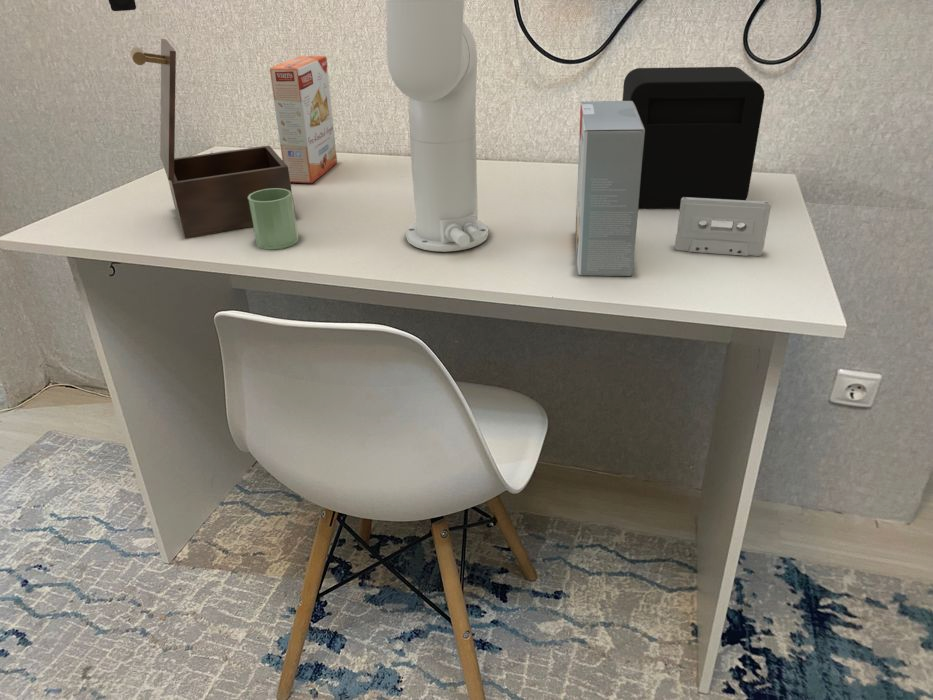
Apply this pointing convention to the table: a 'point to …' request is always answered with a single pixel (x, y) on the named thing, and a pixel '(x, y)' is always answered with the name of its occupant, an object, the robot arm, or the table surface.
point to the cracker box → (304, 117)
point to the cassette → (722, 238)
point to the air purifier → (695, 132)
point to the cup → (273, 218)
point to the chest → (223, 187)
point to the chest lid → (164, 99)
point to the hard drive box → (608, 187)
